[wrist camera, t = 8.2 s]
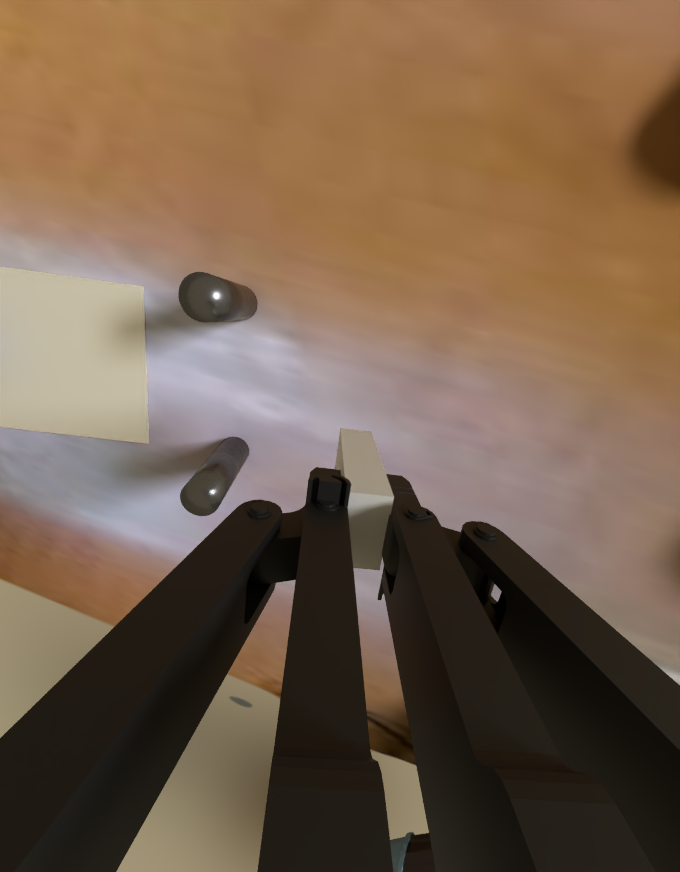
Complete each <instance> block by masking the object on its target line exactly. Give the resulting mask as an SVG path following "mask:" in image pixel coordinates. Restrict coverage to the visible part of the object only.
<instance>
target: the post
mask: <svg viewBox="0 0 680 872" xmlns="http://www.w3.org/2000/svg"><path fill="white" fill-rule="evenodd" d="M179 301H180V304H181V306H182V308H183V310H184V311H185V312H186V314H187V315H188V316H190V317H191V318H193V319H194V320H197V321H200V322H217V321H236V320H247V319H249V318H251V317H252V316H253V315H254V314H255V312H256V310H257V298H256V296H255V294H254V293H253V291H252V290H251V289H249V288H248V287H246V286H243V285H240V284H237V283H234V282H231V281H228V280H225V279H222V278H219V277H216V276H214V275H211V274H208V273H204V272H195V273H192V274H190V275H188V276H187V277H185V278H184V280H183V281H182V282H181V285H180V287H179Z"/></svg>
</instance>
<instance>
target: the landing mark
mask: <svg viewBox="0 0 680 872" xmlns="http://www.w3.org/2000/svg"><path fill="white" fill-rule="evenodd" d="M0 427H4V428H13V429H22V430H31V431H39V432H48V433H57V434H66V435H75V436H84V437H93V438H102V439H110V440H119V441H128V442H137V443H146V444H149V418H148V391H147V364H146V336H145V309H144V287H143V286H136V285H129V284H121V283H114V282H107V281H100V280H93V279H86V278H78V277H71V276H64V275H57V274H50V273H43V272H36V271H28V270H21V269H14V268H7V267H0Z"/></svg>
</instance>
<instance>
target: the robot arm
mask: <svg viewBox="0 0 680 872" xmlns="http://www.w3.org/2000/svg"><path fill="white" fill-rule="evenodd" d="M382 557H383V562H384V569H383V574H382V579H381V584H380V589H379V593H378V600H381V599H382V595H383V594H384V595H385V601H386V606H387V611H388V617H389V622H390V627H391V633H392V638H393V643H394V649H395V654H396V659H397V664H398V670H399V675H400V680H401V686H402V691H403V696H404V702H405V707H406V712H407V718H408V723H409V728H410V734H411V739H412V744H413V750H414V755H415V760H416V766H417V771H418V776H419V782H420V787H421V792H422V797H423V803H424V808H425V813H426V819H427V824H428V829H429V833H426V834H419V835H414V833H413V832H410V833H407V834H406V836H405V837H402V838H397V839H393V840H390V837H389V828H388V820H387V811H386V802H385V794H384V787H383V780H382V774H381V770H380V767H379V764H378V762H377V761H375V760H374V759H372V756H371V752H370V744H369V734H368V723H367V712H366V701H365V691H364V680H363V669H362V658H361V647H360V636H359V625H358V615H357V604H356V593H355V582H354V571H353V568H363V569H373V570H380V565H381V560H382ZM290 580H296V583H295V591H294V599H293V606H292V614H291V622H290V630H289V637H288V645H287V653H286V661H285V668H284V676H283V684H282V692H281V699H280V708H279V715H278V723H277V730H276V738H275V746H274V753H273V758H272V765H271V773H270V780H269V788H268V795H267V803H266V811H265V819H264V827H263V834H262V841H261V849H260V857H259V865H258V872H680V685H679V684H677V683H676V682H675V681H674V680H673V679H672V678H670V677H669V676H668V675H667V674H666V673H665V672H664V671H662V670H661V669H660V668H659V667H658V666H657V665H655V664H654V663H653V662H652V661H651V660H650V659H648V658H647V657H646V656H645V655H644V654H643V653H642V652H640V651H639V650H638V649H637V648H636V647H635V646H633V645H632V644H631V643H630V642H629V641H628V640H627V639H625V638H624V637H623V636H622V635H621V634H620V633H618V632H617V631H616V630H615V629H614V628H613V627H612V626H610V625H609V624H608V623H607V622H606V621H605V620H603V619H602V618H601V617H600V616H599V615H598V614H597V613H595V612H594V611H593V610H592V609H591V608H590V607H588V606H587V605H586V604H585V603H584V602H583V601H582V600H580V599H579V598H578V597H577V596H576V595H575V594H573V593H572V592H571V591H570V590H569V589H568V588H567V587H565V586H564V585H563V584H562V583H561V582H560V581H558V580H557V579H556V578H555V577H554V576H553V575H552V574H550V573H549V572H548V571H547V570H546V569H545V568H543V567H542V566H541V565H540V564H539V563H538V562H537V561H535V560H534V559H533V558H532V557H531V556H530V555H528V554H527V553H526V552H525V551H524V550H523V549H522V548H520V547H519V546H518V545H517V544H516V543H515V542H513V541H512V540H511V539H510V538H509V537H508V536H507V535H505V534H504V533H503V532H502V531H500V530H499V529H497V528H496V527H493V526H491V525H490V524H488V523H484V522H475V521H471V522H466V523H465V524H464V525H463V527H462V530H461V532H458V531H455V530H451V529H447V528H445V527H442V526H441V525H440V523H439V521H438V519H437V517H436V516H435V515H434V514H433V512H431V511H429V510H428V509H426V508H423V507H421V505H420V503H419V501H418V499H417V497H416V495H415V493H414V491H413V490H412V486H411V484H410V482H409V481H407V480H406V479H405V478H404V477H403V476H397V475H389V474H386V472H385V469H384V467H383V464H382V461H381V458H380V455H379V452H378V449H377V447H376V444H375V441H374V438H373V435H372V432H368V431H359V430H351V429H343V428H341V429H340V436H339V443H338V450H337V458H336V465H335V469H327V468H318V467H316V468H315V469H313V470H312V471H311V472H310V478H309V480H308V489H307V497H306V504H305V506H304V507H303V508H302V509H300V510H298V511H295V512H290V513H282V510H281V508H280V507H279V506H278V505H277V504H275V503H272V502H270V501H264V500H252V501H248V502H245V503H243V504H241V505H240V506H238V507H237V508H236V509H235V510H234V511H233V512H232V513H231V514H230V515H229V516H228V517H227V518H226V519H225V520H224V521H223V522H222V523H221V524H220V525H219V526H218V527H217V528H216V529H215V530H213V531H212V532H211V533H210V534H209V535H208V536H207V537H206V538H205V539H204V540H203V541H202V542H201V543H200V544H199V545H198V546H197V547H196V548H195V549H194V550H193V551H192V552H191V553H190V554H189V555H188V556H187V557H186V558H185V559H184V560H183V561H182V562H181V563H180V564H179V565H178V566H177V567H176V568H174V569H173V570H172V571H171V572H170V573H169V574H168V575H167V576H166V577H165V578H164V579H163V580H162V581H161V582H160V583H159V584H158V585H157V586H156V587H155V588H154V589H153V590H152V591H151V592H150V593H149V594H148V595H147V596H146V597H145V598H144V599H143V600H142V601H141V602H140V603H139V604H138V605H137V606H136V607H134V608H133V609H132V610H131V611H130V612H129V613H128V614H127V615H126V616H125V617H124V618H123V619H122V620H121V621H120V622H119V623H118V624H117V625H116V626H115V627H114V628H113V629H112V630H111V631H110V632H109V633H108V634H107V635H106V636H105V637H104V638H103V639H102V640H101V641H100V642H99V643H98V644H97V645H96V646H95V647H93V649H91V650H90V651H89V652H88V653H87V654H86V655H85V656H84V657H83V658H82V659H81V660H80V661H79V662H78V663H77V664H76V665H75V666H74V667H73V668H72V669H71V670H70V671H69V672H68V673H67V674H66V675H65V676H64V677H63V678H62V679H61V680H60V681H59V682H58V683H57V684H56V685H54V687H52V688H51V689H50V690H49V691H48V692H47V693H46V694H45V695H44V696H43V697H42V698H41V699H40V700H39V701H38V702H37V703H36V704H35V705H34V706H33V707H32V708H31V709H30V710H29V711H28V712H27V713H26V714H25V715H24V716H23V717H22V718H21V719H20V720H19V721H18V722H17V723H15V724H14V725H13V727H11V728H10V729H9V730H8V731H7V732H6V733H5V734H4V735H3V736H2V737H1V738H0V872H116V871H117V869H118V867H119V865H120V864H121V862H122V860H123V858H124V857H125V855H126V853H127V851H128V850H129V848H130V846H131V844H132V842H133V841H134V839H135V837H136V835H137V834H138V832H139V830H140V828H141V826H142V825H143V823H144V821H145V819H146V818H147V816H148V814H149V812H150V810H151V809H152V807H153V805H154V803H155V801H156V800H157V798H158V796H159V794H160V793H161V791H162V789H163V787H164V785H165V784H166V782H167V780H168V778H169V776H170V775H171V773H172V771H173V769H174V768H175V766H176V764H177V762H178V760H179V759H180V757H181V755H182V753H183V751H184V750H185V748H186V746H187V744H188V742H189V741H190V739H191V737H192V735H193V734H194V732H195V730H196V728H197V727H198V724H199V723H200V721H201V719H202V718H203V716H204V714H205V712H206V710H207V709H208V707H209V705H210V703H211V702H212V699H213V698H214V696H215V694H216V693H217V690H218V689H219V687H220V686H221V684H222V682H223V680H224V678H225V677H226V675H227V673H228V671H229V669H230V668H231V666H232V664H233V662H234V661H235V659H236V657H237V655H238V653H239V652H240V650H241V648H242V646H243V644H244V643H245V641H246V639H247V637H248V636H249V634H250V632H251V630H252V628H253V627H254V625H255V623H256V621H257V620H258V618H259V616H260V614H261V612H262V611H263V609H264V607H265V605H266V603H267V602H268V600H269V598H270V596H271V595H272V593H273V591H274V588H275V584H276V583H277V582H283V581H290ZM494 583H495V584H496V586H497V587H498V588H499V589H500V590H501V591H502V592H501V595H500V598H499V601H498V602H497V601H496V600H494V598H493V597H492V596H491V593H492V590H493V587H494Z"/></svg>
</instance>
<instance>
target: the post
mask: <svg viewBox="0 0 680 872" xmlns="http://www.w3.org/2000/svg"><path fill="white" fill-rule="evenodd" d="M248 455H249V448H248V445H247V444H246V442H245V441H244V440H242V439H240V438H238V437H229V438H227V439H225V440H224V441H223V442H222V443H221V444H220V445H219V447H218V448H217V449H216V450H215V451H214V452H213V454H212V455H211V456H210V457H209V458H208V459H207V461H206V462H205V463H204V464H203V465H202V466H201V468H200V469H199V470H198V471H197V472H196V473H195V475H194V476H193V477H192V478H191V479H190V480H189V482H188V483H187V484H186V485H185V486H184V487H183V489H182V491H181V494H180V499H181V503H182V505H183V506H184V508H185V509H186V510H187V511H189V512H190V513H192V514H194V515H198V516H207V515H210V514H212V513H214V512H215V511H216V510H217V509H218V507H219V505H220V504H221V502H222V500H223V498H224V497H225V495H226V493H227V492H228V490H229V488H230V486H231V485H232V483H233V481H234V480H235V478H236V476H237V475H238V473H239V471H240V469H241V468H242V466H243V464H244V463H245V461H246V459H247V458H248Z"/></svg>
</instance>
